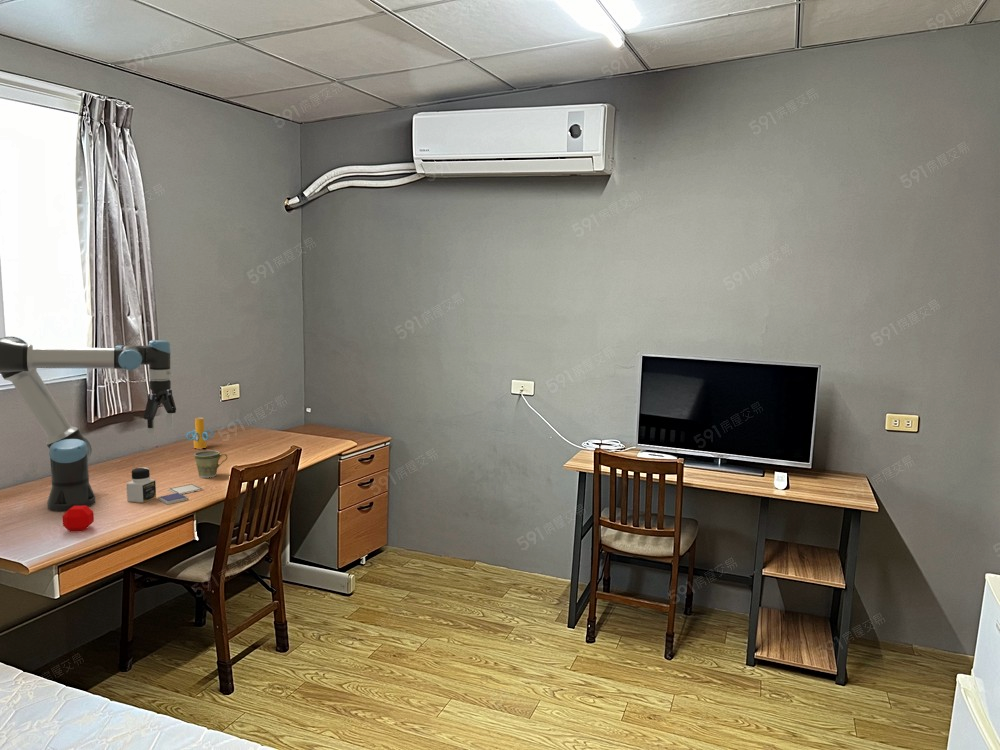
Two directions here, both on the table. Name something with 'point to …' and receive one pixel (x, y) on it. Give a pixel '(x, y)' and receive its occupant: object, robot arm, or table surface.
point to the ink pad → (172, 498)
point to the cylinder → (199, 434)
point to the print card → (185, 489)
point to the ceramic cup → (208, 463)
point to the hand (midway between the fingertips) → (160, 432)
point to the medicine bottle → (141, 486)
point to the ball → (78, 518)
